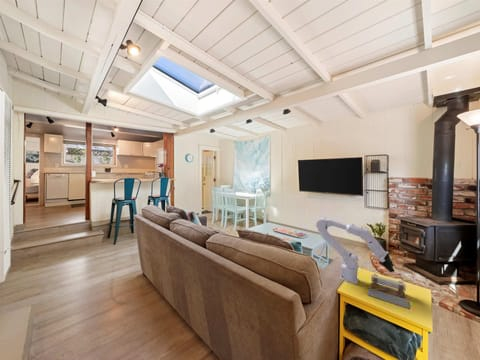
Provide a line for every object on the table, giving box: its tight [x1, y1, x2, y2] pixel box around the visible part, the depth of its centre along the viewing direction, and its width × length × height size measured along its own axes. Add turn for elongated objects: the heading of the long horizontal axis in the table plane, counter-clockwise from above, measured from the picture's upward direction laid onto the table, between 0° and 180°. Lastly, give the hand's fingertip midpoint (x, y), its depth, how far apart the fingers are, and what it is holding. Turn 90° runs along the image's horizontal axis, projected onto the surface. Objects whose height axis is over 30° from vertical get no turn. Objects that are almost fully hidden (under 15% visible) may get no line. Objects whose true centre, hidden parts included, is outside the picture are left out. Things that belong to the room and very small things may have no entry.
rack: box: [370, 274, 406, 299], centre depth 117 cm, size 16×6×6 cm, turn 54°
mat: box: [367, 287, 411, 310], centre depth 110 cm, size 18×8×1 cm, turn 54°
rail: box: [370, 274, 407, 292], centre depth 117 cm, size 16×3×3 cm, turn 54°
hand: (392, 269), depth 115 cm, fingers open, 7 cm apart
